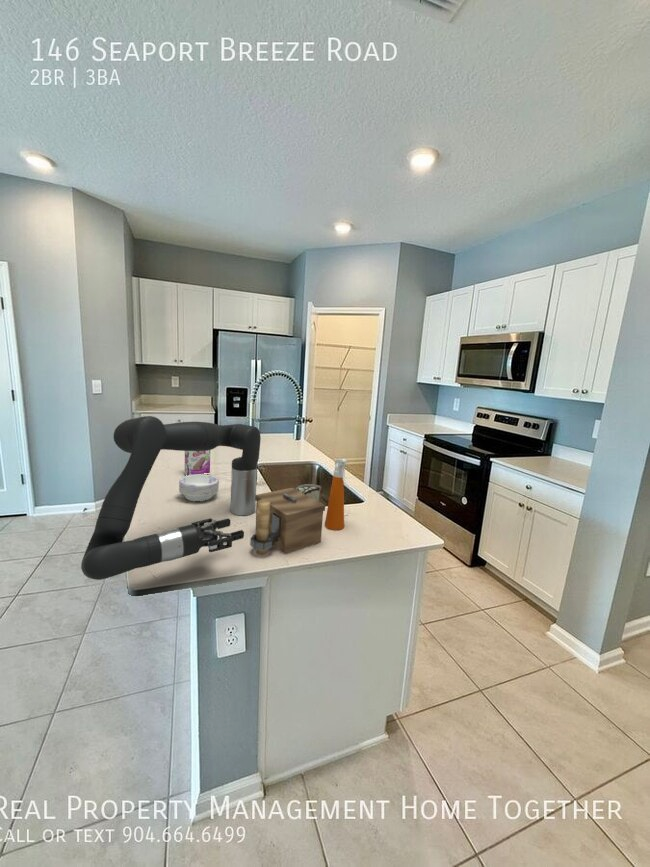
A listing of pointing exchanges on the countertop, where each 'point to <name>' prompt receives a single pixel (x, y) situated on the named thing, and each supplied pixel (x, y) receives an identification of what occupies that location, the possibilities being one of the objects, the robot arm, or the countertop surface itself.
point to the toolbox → (294, 518)
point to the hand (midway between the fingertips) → (236, 527)
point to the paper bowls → (198, 487)
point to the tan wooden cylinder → (263, 524)
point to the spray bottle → (336, 498)
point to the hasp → (272, 537)
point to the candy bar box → (197, 462)
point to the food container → (310, 490)
